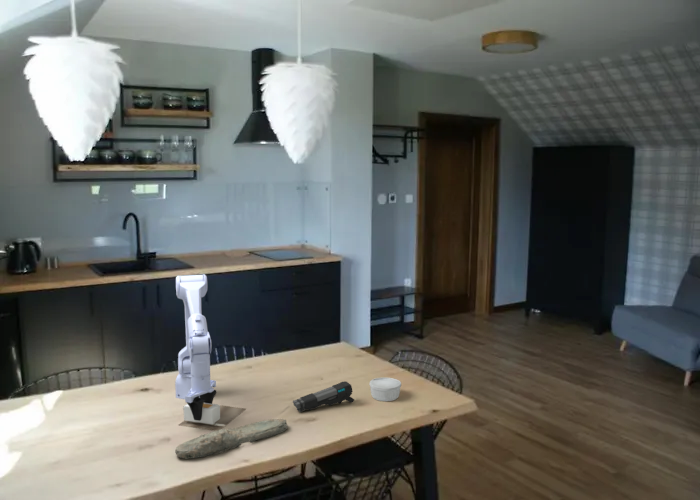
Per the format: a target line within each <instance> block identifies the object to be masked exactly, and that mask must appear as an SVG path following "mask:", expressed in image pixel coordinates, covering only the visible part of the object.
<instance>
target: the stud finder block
mask: <svg viewBox="0 0 700 500" xmlns="http://www.w3.org/2000/svg"><path fill="white" fill-rule="evenodd" d="M220 405H221V404H217V403H212V404H211V403H204V404H203V408H202V417H201V420H200V421H198V420H194V418H193V414H192V411H191V409H190V407H189V405H188V404H187V403H186V404H185V405H183V407H182V408H183V421H184V420H186V421H193V422H200V423H206V424H214V423H215V422H216V421H218V420H219V419H220Z"/></svg>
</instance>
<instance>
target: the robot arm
mask: <svg viewBox="0 0 700 500" xmlns="http://www.w3.org/2000/svg"><path fill="white" fill-rule="evenodd" d="M175 290H176V293H175V294H176V297H177V299H179V300H182V302H183V305H184V321H185V322H184V323H185V346H184V347H183V348H181V350H180V351H179V352H178V354H177V357H178V358H177V366H178V367H177V368H178V369H177V370H178V374H177V376H176V379H175V381H174V383H175V384H174V385H175V398H176V399H180V400H185V403H186V404H188V405H189V407H190V409H191V411H192V414H193V418H194V420H198V421H200V420H201V417H202V408H203V404H204V403H211V404H213V401H214V399H215V396H216V394H217V390H216V389H214V388H216V387H217V380H213V379H211V354H212V339H211V335H210V332H209V331H208V322H207V319H206V316H205V315H203V314H202V298H204V297H205V296H206V294H207V292H208V277H207V274H205V273H203V274H192V275H189V274H188V275H177V276H176V277H175Z"/></svg>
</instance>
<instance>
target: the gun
mask: <svg viewBox="0 0 700 500" xmlns="http://www.w3.org/2000/svg"><path fill="white" fill-rule="evenodd" d="M352 395H353V386H352V384H351V383H349V382H348V381H345V380H344V381H341V382H338V383H336V384H333V385H332V386H329V387H326V388H324V389H321V390H319V391H316V392H313V393H312V392H311V393H309V394H306V395H303V396H301V397H300V398H297V399H294V400H292V402H293V406H294V407H295V409H296V410H297V412H299V413H302V412H304V411H306V410H307V411H311V410H314V409H317V408H319V407H321V406H323V405H325V406H329V407H331V406H333V405H336V404H339V405H340V404H342V403H343V401H347V402H348V403H350V404H353V403H354V401H355V398H353V397H352Z"/></svg>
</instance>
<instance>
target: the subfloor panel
mask: <svg viewBox="0 0 700 500" xmlns="http://www.w3.org/2000/svg"><path fill="white" fill-rule="evenodd" d="M219 405H220V419H219V420H218V421H216V422H215V423H214V424H206V423H200V422H193V421H186V420H184V419H183V421H182V422H181V423H179V424H178V426H181V427H188V428H195V429H201V430H206V431H212V432H213V431H215V430H221V429H224V428H225V427H226V426H227V425H228V424H230V423H231V422H232V421H233V420H234V419H236V418H237V417H238V416H240V415H241V414H242V413H243V412H245V411H246V410H247V408H245V407H243V408H242V407H236V406H228V405H222V404H219Z"/></svg>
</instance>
